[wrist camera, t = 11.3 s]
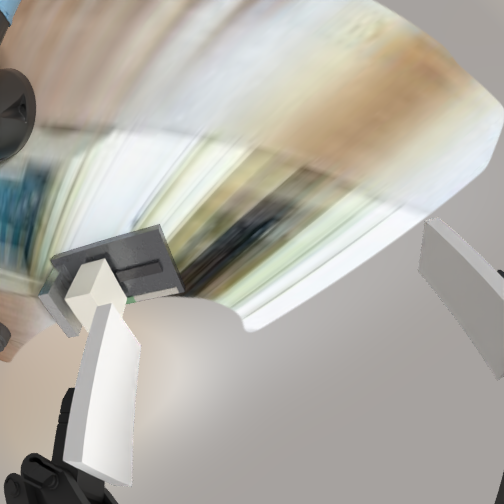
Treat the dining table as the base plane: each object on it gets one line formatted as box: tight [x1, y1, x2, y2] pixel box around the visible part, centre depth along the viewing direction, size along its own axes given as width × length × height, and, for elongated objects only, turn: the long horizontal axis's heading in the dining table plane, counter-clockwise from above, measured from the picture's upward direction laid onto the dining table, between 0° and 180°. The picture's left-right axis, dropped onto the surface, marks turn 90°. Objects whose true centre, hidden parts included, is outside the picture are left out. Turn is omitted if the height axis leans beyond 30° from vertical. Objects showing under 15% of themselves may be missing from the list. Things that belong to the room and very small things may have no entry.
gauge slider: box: [65, 258, 127, 333], centre depth 45 cm, size 5×11×9 cm, turn 11°
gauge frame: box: [38, 224, 185, 337], centre depth 46 cm, size 22×13×10 cm, turn 101°
